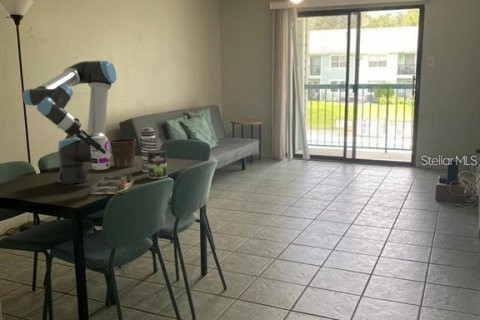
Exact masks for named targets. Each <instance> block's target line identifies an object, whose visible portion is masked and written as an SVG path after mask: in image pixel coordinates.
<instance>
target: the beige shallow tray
mask: <svg viewBox="0 0 480 320" xmlns="http://www.w3.org/2000/svg"><path fill="white" fill-rule="evenodd" d="M135 180H136V179H135V178H133V177H132V171H130V170H129V171H127V172H126V175H103V177H101V178H100V179H99V180H98V181H97V182H95V183H94V184H93V185H92V186H91V187H90V188H89V195H90V194H114V195H116V194H115V193H118V192H121V191H123V190H126V189H128V188H129V187H130V188H131V186H132V185H133V184H134V183H135ZM130 188H129V189H130ZM129 189H128V190H129Z"/></svg>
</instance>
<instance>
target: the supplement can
mask: <svg viewBox="0 0 480 320" xmlns="http://www.w3.org/2000/svg"><path fill="white" fill-rule="evenodd" d="M91 138H92V139H93V140H94V141H96V142H97V143H98V144H99V145H101V146H102V147H103V148H104V149H105V150H107V151H108V152H109V146H108V141H109V139H108V137H107V136H106V135H105V136H94V137H91ZM90 148H91V160H92V163H91V167H92V169H93V170H99V171H100V170H107V169H109V168H110V166H111V162H110V161H111V158H109V159H107V158H106V157H105V156H103V155H102V154H101V153H100V152H98V151H97V152H96V149H95V148H94V147H93V146H91V145H90Z"/></svg>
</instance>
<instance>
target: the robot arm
mask: <svg viewBox="0 0 480 320" xmlns="http://www.w3.org/2000/svg"><path fill="white" fill-rule="evenodd" d="M116 80H117V71H116V68H115V65H114V63H112V62H111V61H109V60H90V61H89V60H87V61H79V62H77V63H74V64H72V65H71V66H68V67H66V68H65V69H64V70H63V71H62V73H60V74H58V75H57V76H55V77H53V78H51V79H49V80H48V81H46V82H44V83H42V84H41V85H38V87H35V88H28V89H24V91H23V92H22V100H23V103H24V104H25V105H27V106H32V107H33V106H36V110H37V111H38V112H39V113H40V114H41V115H42V116H43V117H45V118H46V119H48V120H49V121H50V122H52V124H54V125H56V128H57V129H60V130H62V131H64V133H66V135H69V136H73V135H74V134H75V135H77V137H76V138H70V139H65V138H64V139H62V140H60V141H58V149H57V150H58V154H59V155H58V156H59V165H60V169H59V174H58V178H57V180H58V181H57V182H59V183H63V184H62V185H65V184H69V185H75V184H74V183H79V184H83V183H82V182H84V183H87V182H89V176H88V172H87V170H86V168H85V164H84V163H89V164H92V160H91V148H90V145H91V146H93V147H94V148H95V149H96V152H97V151H98V152H100V153H101V154H102V155H103V156H105V157H106V158H107V159H111V157H113V155H112V149H111V146H110V145H111V144H110V142H109V141H110V140H108V146H109V152H108V151H107V150H105V149H104V148H103V147H102V146H101V145H99V144H98V143H97V142H96V141H94V140H93V139H92V138H91V137H94V136H106V122H107V119H106V118H107V108H108V106H107V105H108V95H109V90H110V89H111V88H112V84H114V83H115V82H116ZM81 84H88V87H90V97H89V99H90V100H89V109H88V110H89V111H88V121H87V122H88V123H87V132H86V131H85V130H84V129H81V127H82V123H81V122H80V121H79V122H78V121H77V120H74V118H75V117H74V116H73V115H72V114H70V113H69V112H67V111H66V110H65V108H66V107H67V105H68V103H69V102H70V101H71V99H72V96H73V95H74V90H73V89H72V88H71V87H73V86H77V85H81ZM86 181H87V182H86ZM59 183H58V184H59Z"/></svg>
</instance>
